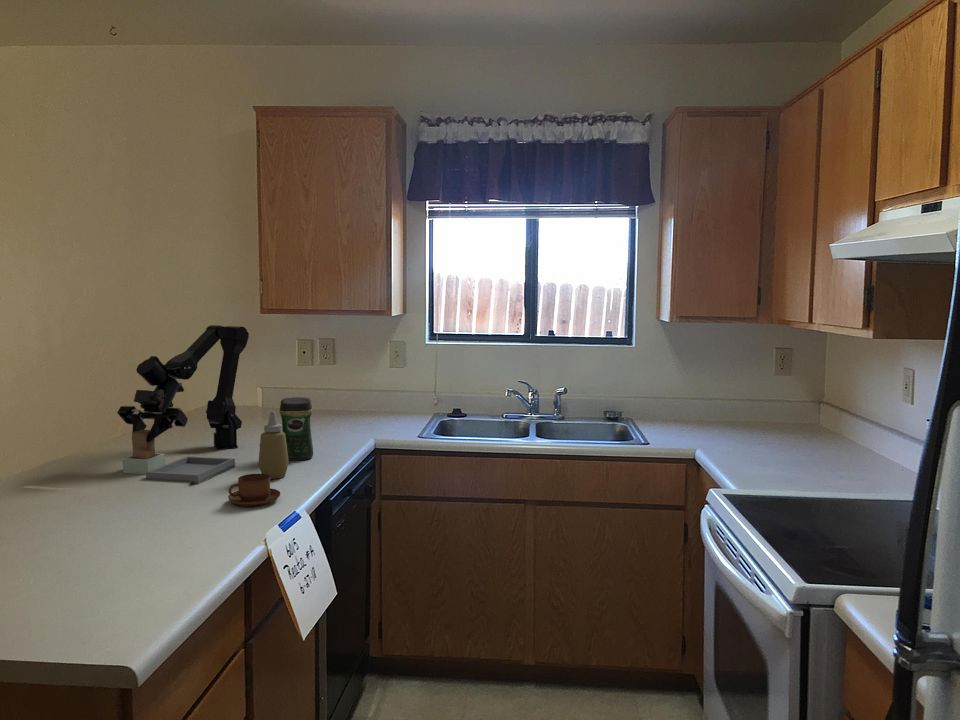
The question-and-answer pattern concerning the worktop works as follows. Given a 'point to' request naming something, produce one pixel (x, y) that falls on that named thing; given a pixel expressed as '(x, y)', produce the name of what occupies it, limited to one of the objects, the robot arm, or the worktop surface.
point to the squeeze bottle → (273, 449)
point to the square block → (142, 445)
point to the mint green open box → (142, 464)
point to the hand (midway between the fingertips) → (140, 441)
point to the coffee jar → (297, 427)
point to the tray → (191, 469)
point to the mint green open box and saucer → (253, 490)
